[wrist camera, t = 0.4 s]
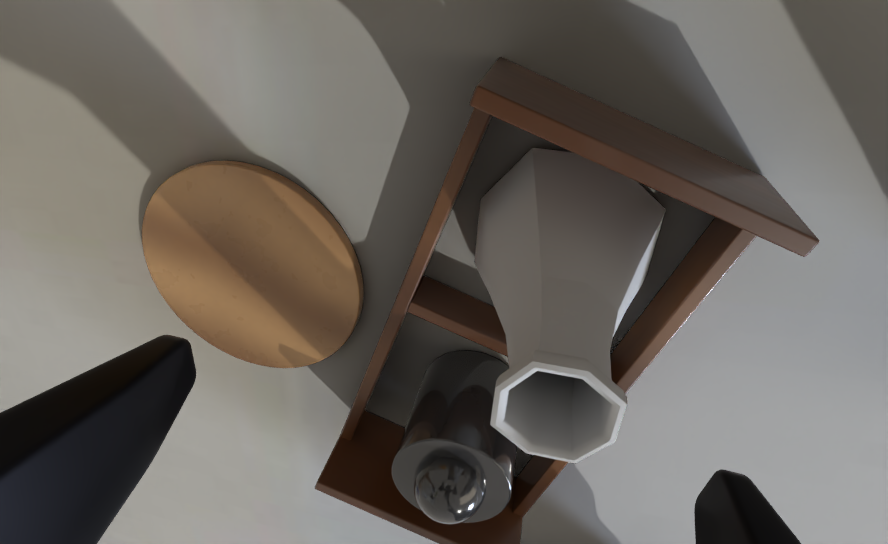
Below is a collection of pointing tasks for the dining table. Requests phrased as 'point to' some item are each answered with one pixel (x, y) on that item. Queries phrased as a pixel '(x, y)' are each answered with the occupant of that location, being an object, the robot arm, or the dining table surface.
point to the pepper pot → (456, 443)
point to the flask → (562, 295)
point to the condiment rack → (375, 439)
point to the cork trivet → (253, 264)
